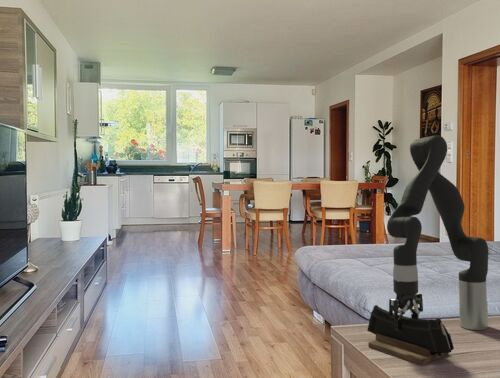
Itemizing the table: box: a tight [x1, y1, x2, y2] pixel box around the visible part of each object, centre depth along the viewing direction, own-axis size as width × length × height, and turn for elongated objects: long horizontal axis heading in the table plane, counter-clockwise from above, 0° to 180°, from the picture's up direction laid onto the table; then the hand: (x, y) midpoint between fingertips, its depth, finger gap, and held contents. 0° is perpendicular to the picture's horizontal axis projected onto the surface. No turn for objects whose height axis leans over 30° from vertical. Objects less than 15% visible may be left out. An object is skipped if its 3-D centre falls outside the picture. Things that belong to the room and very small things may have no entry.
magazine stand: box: [367, 333, 450, 366], centre depth 148 cm, size 14×20×4 cm
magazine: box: [366, 304, 455, 356], centre depth 149 cm, size 17×3×30 cm
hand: (406, 328), depth 148 cm, fingers open, 8 cm apart
